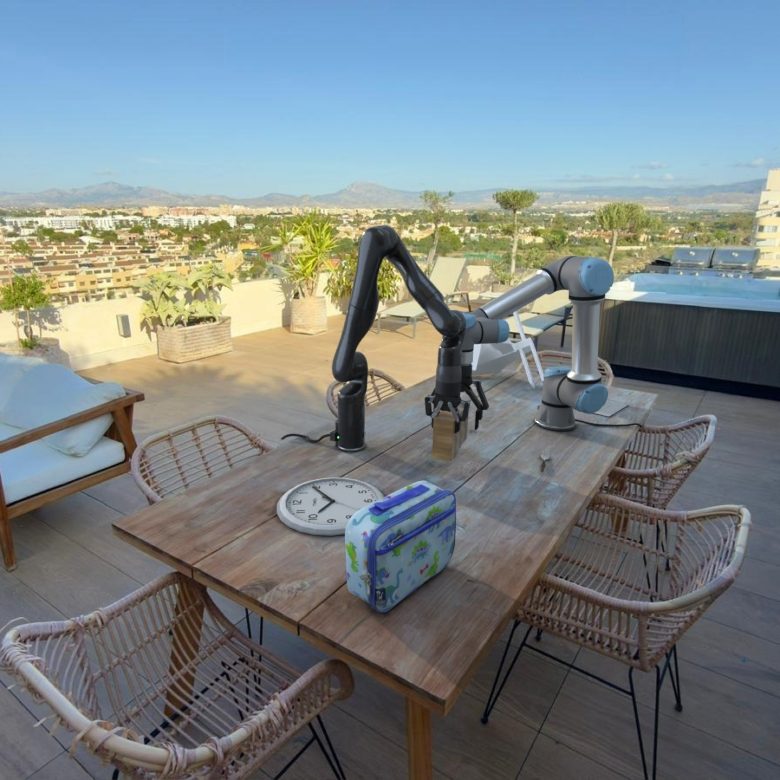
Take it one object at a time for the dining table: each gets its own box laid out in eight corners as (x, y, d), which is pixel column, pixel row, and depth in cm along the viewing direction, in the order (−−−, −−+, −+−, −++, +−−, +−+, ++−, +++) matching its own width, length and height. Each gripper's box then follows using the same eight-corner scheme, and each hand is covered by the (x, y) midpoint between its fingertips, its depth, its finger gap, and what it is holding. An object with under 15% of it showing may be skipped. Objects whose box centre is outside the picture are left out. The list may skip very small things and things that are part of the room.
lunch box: (374, 626, 100) (375, 530, 93) (338, 598, 107) (337, 508, 101) (459, 568, 117) (465, 484, 111) (424, 547, 124) (427, 467, 118)
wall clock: (392, 527, 129) (268, 531, 127) (391, 533, 130) (269, 537, 127) (383, 473, 158) (282, 475, 155) (383, 478, 158) (282, 480, 156)
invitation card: (608, 416, 214) (573, 407, 224) (608, 416, 214) (573, 408, 224) (628, 404, 229) (594, 396, 238) (628, 405, 229) (594, 397, 238)
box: (449, 435, 179) (451, 399, 175) (466, 437, 177) (469, 402, 173) (431, 458, 161) (433, 419, 157) (450, 461, 159) (453, 422, 155)
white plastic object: (482, 418, 267) (461, 395, 242) (463, 346, 289) (443, 318, 265) (552, 394, 255) (538, 367, 230) (527, 321, 277) (512, 289, 252)
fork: (537, 473, 163) (538, 467, 163) (541, 453, 178) (542, 448, 177) (546, 474, 163) (546, 468, 162) (549, 454, 177) (550, 449, 176)
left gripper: (421, 378, 154) (419, 431, 159) (469, 384, 149) (465, 439, 154) (429, 372, 161) (426, 423, 166) (475, 378, 156) (471, 430, 161)
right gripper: (420, 361, 168) (418, 423, 174) (496, 370, 159) (491, 435, 166) (427, 356, 175) (425, 416, 181) (501, 364, 166) (496, 427, 172)
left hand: (445, 430), depth 160 cm, fingers closed on box, 6 cm apart
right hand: (456, 425), depth 173 cm, fingers open, 12 cm apart
